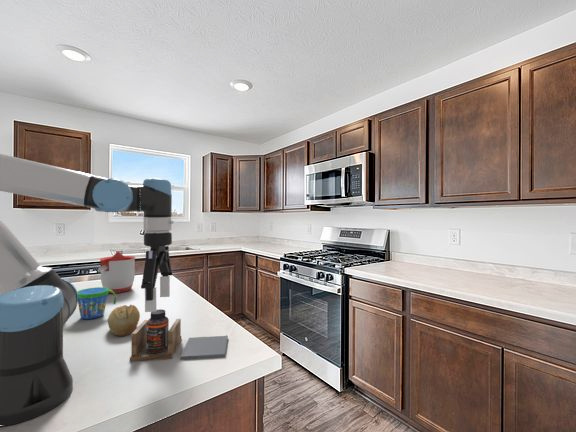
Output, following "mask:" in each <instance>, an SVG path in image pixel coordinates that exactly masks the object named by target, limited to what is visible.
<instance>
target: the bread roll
mask: <svg viewBox="0 0 576 432" xmlns="http://www.w3.org/2000/svg"><path fill="white" fill-rule="evenodd" d="M140 315H141V314H140V310H139V308H138V307H137V306H135V305H134V304H129V305H126V304H125V305H120V306H117V307H115V308H114V309H112V311H111V312H110V313H109V315H108V318H107V325H108V328H109V330H110V332H112V334H113V335H115V336H117V337H124V336H127V335H130V334H132V333H133V332H134V331H135V330H136V329H137V326H138V324H139V321H140V318H141V316H140Z"/></svg>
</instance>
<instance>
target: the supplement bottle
mask: <svg viewBox="0 0 576 432" xmlns="http://www.w3.org/2000/svg"><path fill="white" fill-rule="evenodd" d="M169 320H170V319H169V318H168V317H167V316H166V310H165V309H156V312H150V318H149V319H148V321H147V345H146V346H145V348H146V351H147V353H149V354H161V353H162V352H164V351H167V350H168V331H169V330H170V329H169V322H170V321H169Z"/></svg>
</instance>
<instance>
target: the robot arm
mask: <svg viewBox="0 0 576 432" xmlns="http://www.w3.org/2000/svg"><path fill="white" fill-rule="evenodd" d="M0 192H4V193H9V194H15V195H20V196H26V197H31V198H37V199H42V200H49V201H54V202H59V203H64V204H69V205H75V206H81V207H85V208H90V209H93V210H95V211H96V212H101V213H102V212H104V213H122V212H123V213H124V212H127V213H128V212H132V213H133V212H136V213H137V212H143V231H144V234H143V245H144V246H146V247H149V248H150V250H146V251H145V260H144V261H145V262H144V267H143V268H144V269H143V272H142V273H143V275H142V278H141V279H142V281H141V286H140V288H141V290H142V289H144V312H145V313H151V312H156V310H157V286H156V283H157V278H158V274H159V273H160V276H159V297H160V298H169V297H170V296H171V295H170V294H171V291H170V286H171V285H170V281H171V280H170V279H171V278H170V277H171V276H173V271H172V265H171V260H170V259H171V258H170V249H169V248H170V247H169V246H171V245H172V244H173V241H172V240H173V239H172V238H173V236H172V235H173V234H172V232H171V231H172V224H174V220H172V204H173V203H172V202H173V201H172V199H173V198H172V196H173V195H172V183H171V182H170V180H169V179H164V178H163V179H162V178H145V179H143V182H142V185H131V184H128V183H126V182H125V181H123V180H121V179H119V178H118V179H117V178H112V177H111V178H108V177H103V176H99V175H94V174H91V173H85V172H82V171H77V170H73V169H68V168H63V167H60V166H56V165H52V164H51V165H50V164H47V163H42V162H37V161H34V160H30V159H24V158H20V157H16V156H11V155H7V154H3V153H0ZM77 291H78V290H77V287H75V286H74V284H73V283H72V282H70V281H68V280H67V279H63V278H61V276H59V274H58V273H57V272H56V271H55V270H54V269H53V268H52V267H48V266H41V264H40V263H39V262H38V261H37V260H36V259H35V257H33V255H32V253H30V252H29V251H28V249H27V248H26V247H25V246H24V245H23V243H21V241H20V240H19V239H18V237H16V235H15V234H14V233H13V232H12V231H11V230H10V228H9V227H8V226H7V225H6V224H5V222H4V221H3V220H2V219H1V218H0V425H8V426H12V425H15V424H19V423H23V422H26V421H29V420H31V419H34V418H36V417H39V416H41V415H43V414H45V413H48V412H49V411H51V410H52V409H54V408H56V407H58V406H59V405H60V404H61V403H63V402H64V401H65V400H67V399H68V398H69V397H70V395H71V394H72V392H73V389H74V388H73V387H74V386H73V383H74V381H73V380H74V379H73V375H72V374H71V372H70V369H69V368H68V365H67V362H66V360H65V358H64V326H65V324H66V323H67V322H68V321H69V320H70V318H71V317H72V315H74V313H75V311H76V309H77V306H78V292H77Z"/></svg>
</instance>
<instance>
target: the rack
mask: <svg viewBox="0 0 576 432" xmlns="http://www.w3.org/2000/svg"><path fill="white" fill-rule="evenodd" d="M181 319H182V318H176V319H175V320H174V322H173V324H172V325H171V327H170V329H169V331H168V348H167V353H149V354H141V353H142V351H143V350H144V349H145V348H146V345H147V321H148V320H149V319H148V320H147V319H144V320H143V321H142V322H141V323H140V324H139V325H137V326H138V327H136V328H135V329H134V330H133V331H132V332H131V333H130V334H131V338H130V339H131V343H130V345H131V351H130V352H131V354H130V356H129V362H139V361H140V362H141V361H155V360H158V361H159V360H170V359H171V360H172V358H173V356H174V354H175V352H176V351H177V348H178V346H179V344H180V343H181V341H182V335H181V332H182V331H181V330H182V329H181V328H182V327H181V325H182V324H181V322H182V321H181Z"/></svg>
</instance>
